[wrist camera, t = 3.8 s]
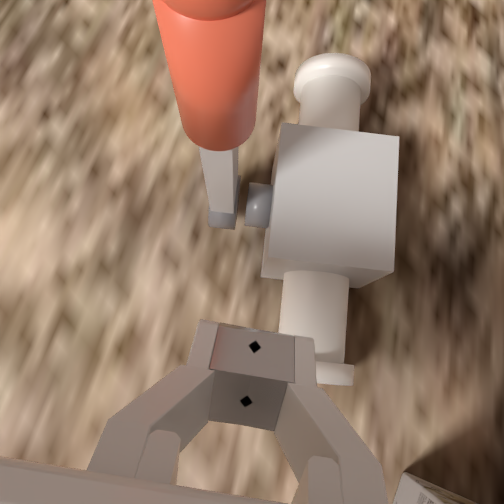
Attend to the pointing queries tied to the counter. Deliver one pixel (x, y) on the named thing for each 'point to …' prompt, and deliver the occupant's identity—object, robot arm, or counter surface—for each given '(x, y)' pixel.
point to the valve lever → (215, 85)
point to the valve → (327, 208)
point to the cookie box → (424, 492)
